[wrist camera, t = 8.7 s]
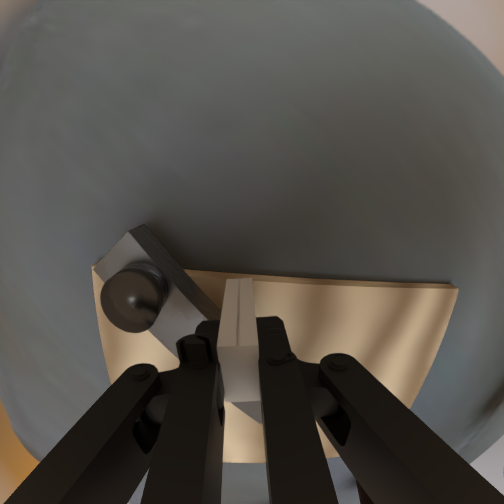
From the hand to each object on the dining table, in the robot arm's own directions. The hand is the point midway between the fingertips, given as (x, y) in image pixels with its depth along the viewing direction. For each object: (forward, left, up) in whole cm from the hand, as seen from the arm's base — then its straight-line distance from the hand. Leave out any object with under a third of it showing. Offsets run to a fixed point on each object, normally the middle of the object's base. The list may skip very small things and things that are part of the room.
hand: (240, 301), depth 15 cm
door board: (-4, +8, -3) cm, 10 cm away
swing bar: (+2, +2, -1) cm, 3 cm away
